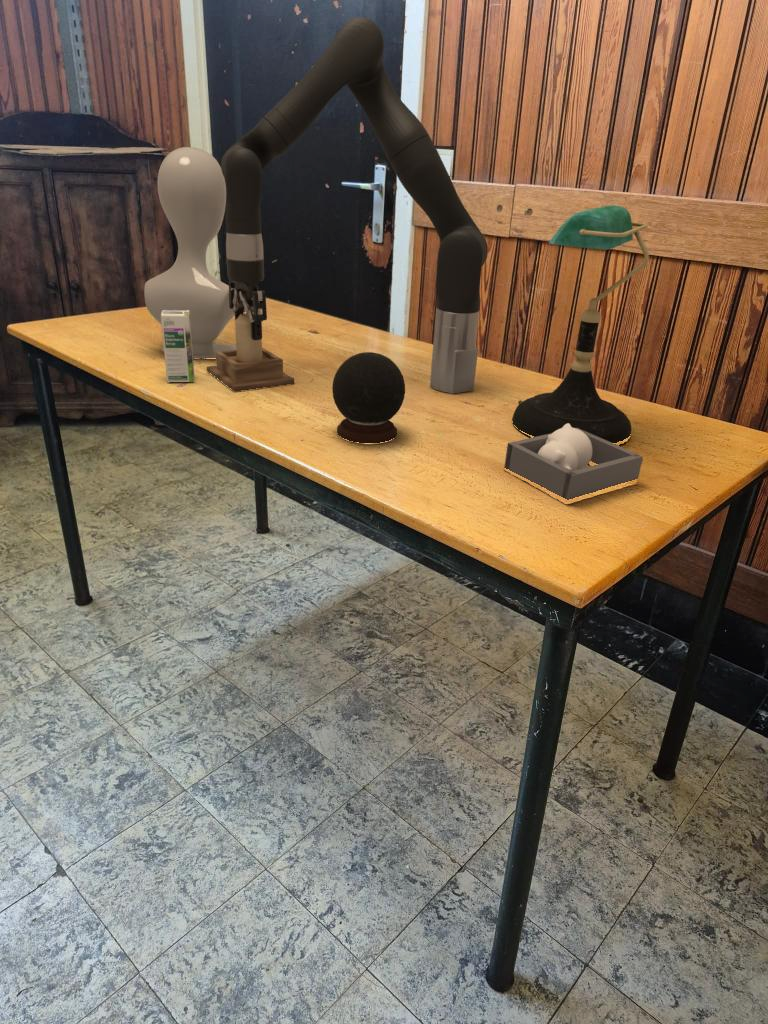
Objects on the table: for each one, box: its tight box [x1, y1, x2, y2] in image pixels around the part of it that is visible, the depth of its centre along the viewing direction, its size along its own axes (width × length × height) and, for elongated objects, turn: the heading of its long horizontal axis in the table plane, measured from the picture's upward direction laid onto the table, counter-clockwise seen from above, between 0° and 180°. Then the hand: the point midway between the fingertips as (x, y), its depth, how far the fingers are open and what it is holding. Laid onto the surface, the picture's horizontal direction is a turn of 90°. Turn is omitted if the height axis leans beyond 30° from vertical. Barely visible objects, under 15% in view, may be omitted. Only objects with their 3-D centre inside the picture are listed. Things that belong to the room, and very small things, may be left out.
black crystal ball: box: [331, 351, 406, 443], centre depth 127 cm, size 13×13×15 cm
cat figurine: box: [538, 423, 592, 471], centre depth 117 cm, size 9×11×12 cm
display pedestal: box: [206, 347, 295, 392], centre depth 155 cm, size 16×14×5 cm
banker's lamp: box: [511, 204, 650, 443], centre depth 129 cm, size 26×23×40 cm
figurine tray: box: [503, 428, 644, 500], centre depth 116 cm, size 14×16×5 cm
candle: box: [234, 312, 263, 363], centre depth 152 cm, size 6×6×10 cm
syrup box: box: [160, 310, 195, 383], centre depth 150 cm, size 6×6×14 cm
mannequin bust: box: [143, 146, 236, 360], centre depth 163 cm, size 22×20×45 cm
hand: (248, 335), depth 152 cm, fingers open, 8 cm apart
